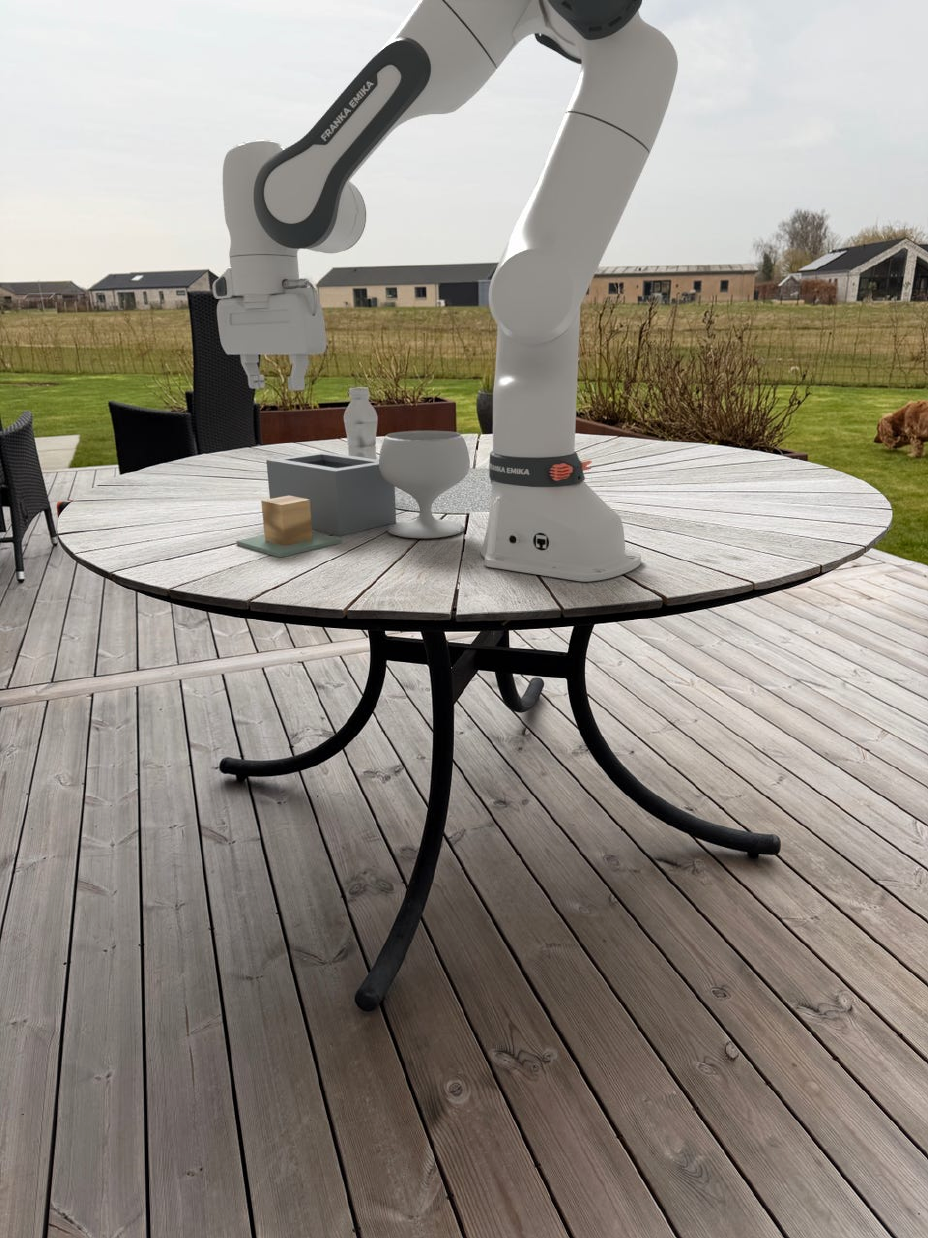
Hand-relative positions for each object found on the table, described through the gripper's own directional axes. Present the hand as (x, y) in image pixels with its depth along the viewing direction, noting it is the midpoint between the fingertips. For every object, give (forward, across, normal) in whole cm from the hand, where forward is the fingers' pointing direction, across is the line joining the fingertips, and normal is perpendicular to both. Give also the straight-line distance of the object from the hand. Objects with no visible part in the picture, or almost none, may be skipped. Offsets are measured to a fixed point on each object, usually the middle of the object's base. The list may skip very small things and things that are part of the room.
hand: (276, 389), depth 110 cm
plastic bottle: (+22, +21, -33) cm, 45 cm away
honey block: (+22, 0, 0) cm, 22 cm away
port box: (+22, +7, -14) cm, 27 cm away
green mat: (+22, 0, 0) cm, 22 cm away
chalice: (+23, -10, -19) cm, 31 cm away
